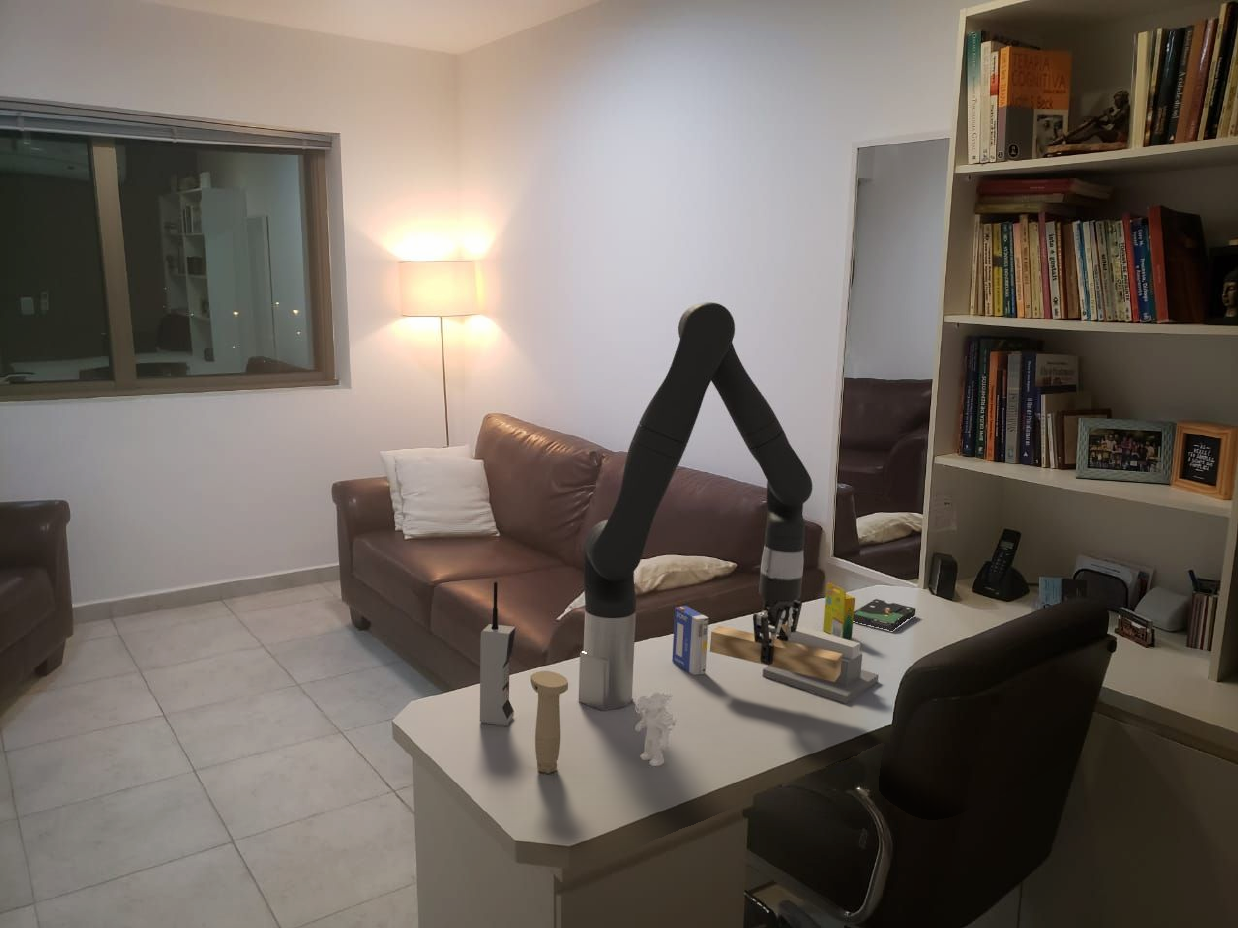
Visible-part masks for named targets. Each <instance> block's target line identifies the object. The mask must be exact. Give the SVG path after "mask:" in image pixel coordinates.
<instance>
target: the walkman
mask: <svg viewBox="0 0 1238 928" xmlns="http://www.w3.org/2000/svg"><path fill="white" fill-rule="evenodd" d="M673 624H674V626H673V641H672V642H673V643H672V645H673V646H672V663H673V664H675V665H677V666H678V667H680V668H681V669H683V670H685V671H686V672H687V673H690V674H691V675H693V676H697V675H704V674H706V673H707V657H708V656H707V655H708V654H707V652H708V642H709V641H708V639H709V638H708V637H709V636H708V634H709V633H708V632H709V617H708V616H707V615H704V614H703V613H700V612H699V611H697V610H695V609H693V608H691V607H689V606H687V605H685V606H684V605H682V606H679V607H675V608H674V623H673Z"/></svg>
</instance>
